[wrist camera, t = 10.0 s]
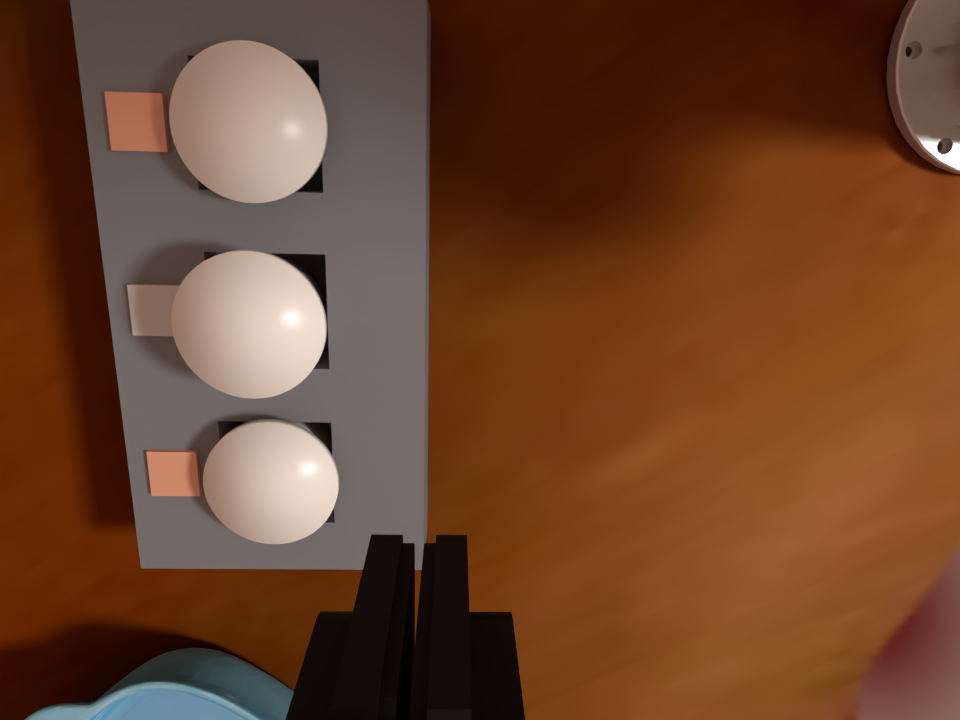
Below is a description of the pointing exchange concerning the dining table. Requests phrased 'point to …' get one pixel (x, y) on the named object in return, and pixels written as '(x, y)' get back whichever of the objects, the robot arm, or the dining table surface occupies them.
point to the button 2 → (273, 479)
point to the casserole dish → (184, 692)
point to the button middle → (250, 323)
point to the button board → (284, 233)
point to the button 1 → (248, 121)
